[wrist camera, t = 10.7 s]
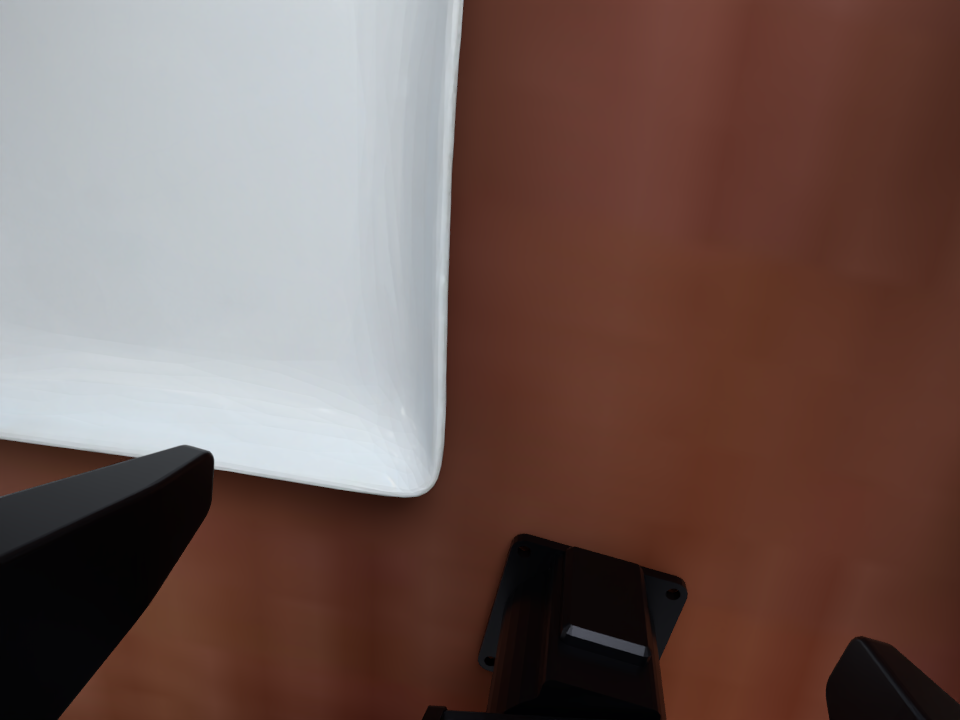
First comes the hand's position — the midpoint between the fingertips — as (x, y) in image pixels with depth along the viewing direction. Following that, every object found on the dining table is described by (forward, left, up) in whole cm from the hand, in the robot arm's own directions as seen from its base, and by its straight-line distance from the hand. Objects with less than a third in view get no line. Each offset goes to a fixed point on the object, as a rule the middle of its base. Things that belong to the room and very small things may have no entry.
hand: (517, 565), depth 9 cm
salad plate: (+2, +14, -14) cm, 20 cm away
